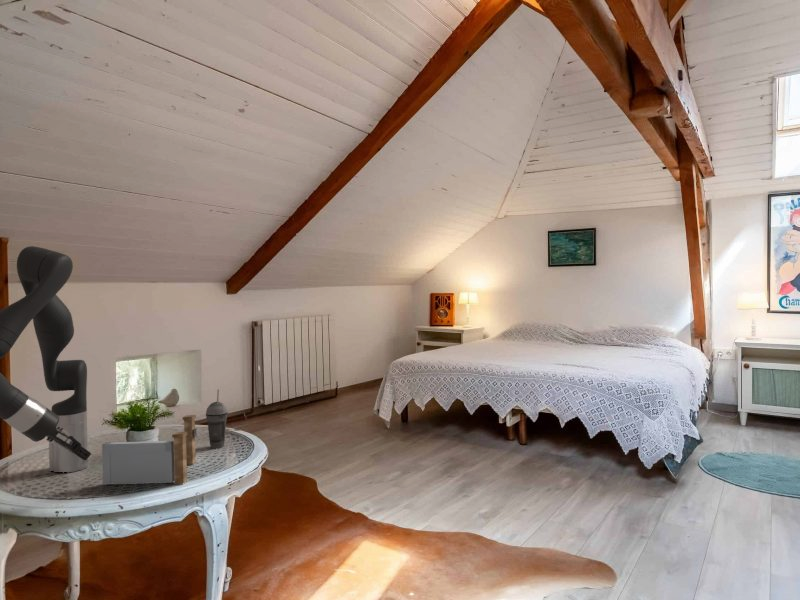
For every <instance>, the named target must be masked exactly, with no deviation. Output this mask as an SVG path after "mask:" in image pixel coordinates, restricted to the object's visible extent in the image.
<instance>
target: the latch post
mask: <svg viewBox="0 0 800 600" xmlns="http://www.w3.org/2000/svg"><path fill="white" fill-rule="evenodd" d="M196 417H197V415H196V414H186V415H184V416H182V421H183V432H187V435H186V461H187V466H190V465H192V466H193V465H194V464H195V463H197V461H196V437H197V432H198V431H197V428H195V427H196V421H195V420H196V419H195V418H196Z"/></svg>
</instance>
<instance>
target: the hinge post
mask: <svg viewBox="0 0 800 600" xmlns="http://www.w3.org/2000/svg"><path fill="white" fill-rule="evenodd" d="M186 435H187V432H184V431H176V432H174V433H172V435H171V437H172V438H173V441H174V469H175V481H174V485H184V484H186V483H185V482H186V481H187V482H188V467H187V466H188V465H187V461H186ZM183 483H184V484H183Z"/></svg>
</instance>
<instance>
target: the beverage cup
mask: <svg viewBox="0 0 800 600" xmlns="http://www.w3.org/2000/svg"><path fill="white" fill-rule="evenodd" d="M219 399H220V389H217V393H216V401H213V402H211V403H210V404H209V405H208V406H207V408H206V411H205V416H206V421H207V430H208V439H209V444H210V449H213V450H217V449H216V448H218V449H222V447H223V448H224V447H225V442H226V429H227V428H226V427H227V418H228V413H229V411H228V408H227V407H226V405H225V404H224V403H223V402H221V401H220V400H219Z"/></svg>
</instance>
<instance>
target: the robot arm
mask: <svg viewBox="0 0 800 600" xmlns="http://www.w3.org/2000/svg"><path fill="white" fill-rule="evenodd" d="M16 259H17V260H16V272H17V275H18V279H19V281H20V284H21V286H22V289H23V291H24V294H25V296H23V297H21V298H20V299H19V300H17V301H15V302H13V303H11V304H9V305H8V306H5V307H4V308H2V309H1V310H0V360H1V359H2V358H4V357H5V356H7V354H8V353H9V352H10V351H11V349H12V348H13V346H14V345H15V344H16V342H17V340H18V339H19V337H20V336H21V335H22V333H23V332H24V330H25V329H26V328H27V326H28V325H29V324H30V322H33V327H34V332H35V336H36V339H37V343H38V345H39V351H40V354H41V360H42V368H43V377H44V382H45V386H46V388H47V389H48V390H49V391H51V392H65V391H74V393H73V394H71V396H69V397H67V398H66V399H64V400H61V401H58V402H56V403H54V404H52V406H51V409H50V408H48V407H46V406H45V405H44V404H42V403H41V402H40V401H38V400H36V399H35V398H32V397H31V396H30V395H28V394H26V393H25V392H23V391H22V390H21V389H19V388H18V387H16V386H15V385H13V384H12V383H11V382H10V381H9V380H8V378H6V376H4V375H3V374H2V373H1V372H0V419H2V420H3V421H5V422H6V423H7V424H8V425H9V426H10V427H11V428H13V429H15V430H16V431H17V432H19V433H20V434H22V436H25V437H27V438H28V439H29V440H31V441H33V442H41V441H42V440H44V439H45V438H46V439H45V440H46V441H47V442H48V455H49V456H48V458H49V472H50V471H55V472H63V473H62V474H65V473H64V472H67V473H72V472H79V471H81V470H84V469H86V468H87V467H88V466H89V458H90V456H91V455H92V453H91V451H89V448H88V446H89V443H88V441H89V439H88V411H87V410H88V409H87V404H88V403H87V402H88V401H87V385H88V367H87V363H86V361H85V360H83V359H70V360H58V358H59V356H60V355H61V352H63V350H64V349H66V347H67V346H68V345H69V344H70V342H71V340H72V339H73V337H74V335H75V327H74V321H73V316H72V313H71V312H70V309H69V308H68V307H67V305H66V304H65V303H64V302H63V300H61V299H60V297H59V296H58V295H57V294H58V292H60V290H62V288H63V287H64V286H65V285H66V283H67V282H68V280H69V279H70V277H71V275H72V272H73V268H74V264H73V261H72V258H71V257H70V256H69V255H67V254H65V253H61V252H58V251H55V250H51V249H48V248H43V247H40V246H27V247H25V248H23V249H21V251H20V252H19V254H18V257H17V258H16ZM55 472H54V473H55Z"/></svg>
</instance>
